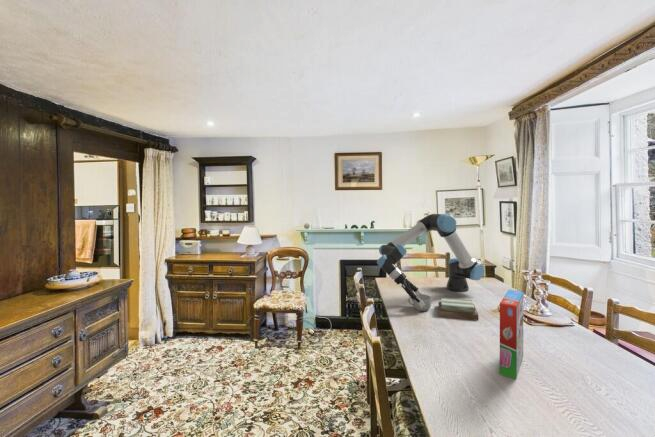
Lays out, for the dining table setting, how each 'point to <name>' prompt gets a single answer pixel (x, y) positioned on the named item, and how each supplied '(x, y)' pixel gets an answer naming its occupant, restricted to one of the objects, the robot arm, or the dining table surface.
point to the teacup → (425, 299)
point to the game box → (511, 333)
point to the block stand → (457, 309)
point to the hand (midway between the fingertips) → (423, 302)
